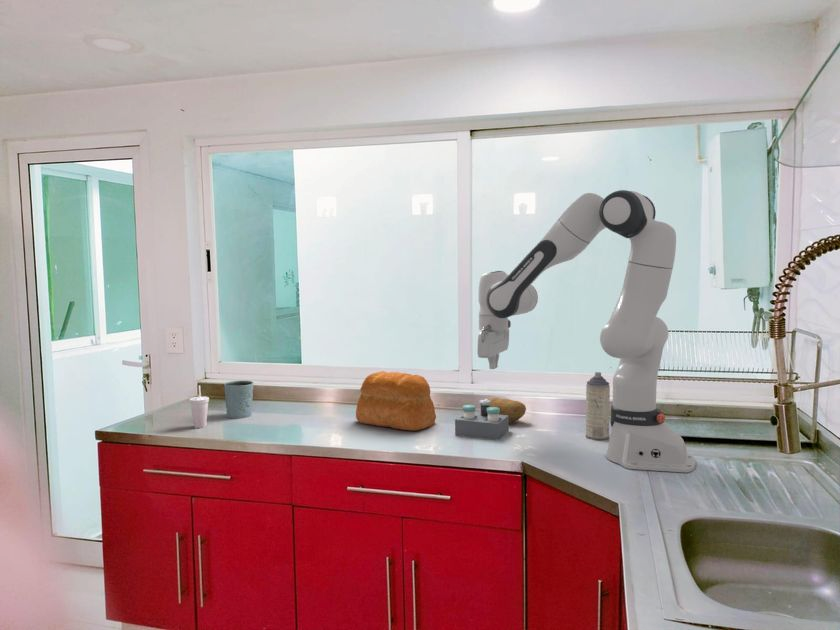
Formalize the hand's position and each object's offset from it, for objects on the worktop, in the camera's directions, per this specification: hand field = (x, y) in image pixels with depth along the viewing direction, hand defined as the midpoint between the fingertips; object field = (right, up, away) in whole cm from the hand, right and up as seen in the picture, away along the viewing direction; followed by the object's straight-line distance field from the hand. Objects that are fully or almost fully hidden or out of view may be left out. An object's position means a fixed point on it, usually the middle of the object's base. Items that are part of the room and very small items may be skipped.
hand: (493, 368), depth 184 cm
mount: (-3, -21, +4) cm, 21 cm away
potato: (+6, -20, +17) cm, 27 cm away
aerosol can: (+31, -21, -2) cm, 38 cm away
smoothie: (-97, -21, +16) cm, 100 cm away
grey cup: (-88, -20, +31) cm, 95 cm away
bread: (-31, -20, +18) cm, 41 cm away
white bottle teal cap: (0, -20, +2) cm, 20 cm away
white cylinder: (-7, -20, +5) cm, 21 cm away
